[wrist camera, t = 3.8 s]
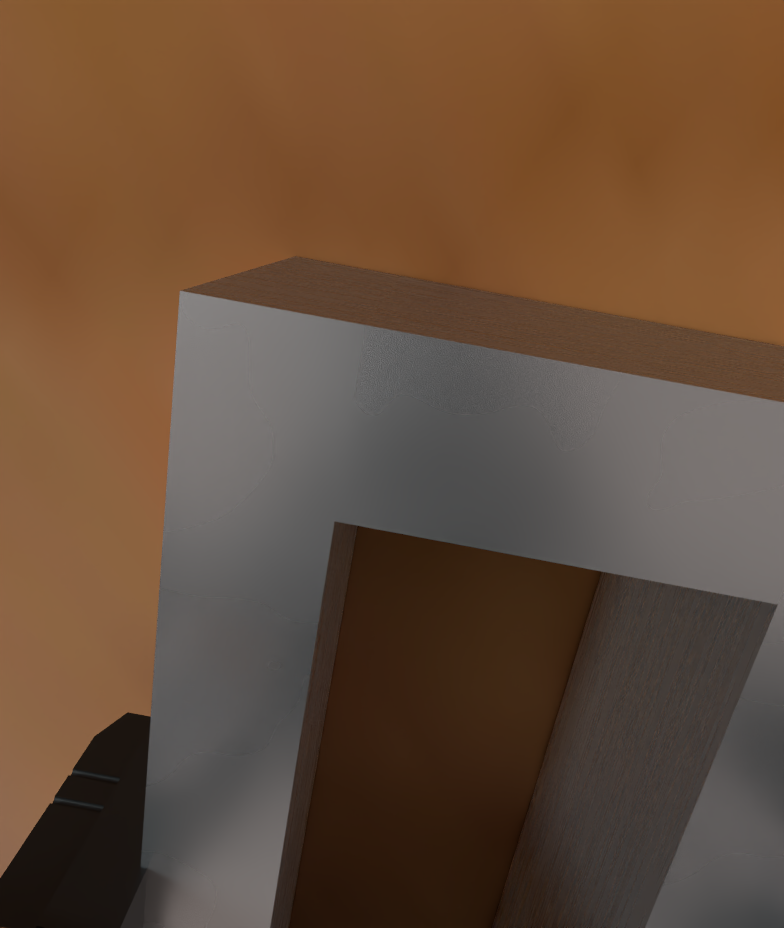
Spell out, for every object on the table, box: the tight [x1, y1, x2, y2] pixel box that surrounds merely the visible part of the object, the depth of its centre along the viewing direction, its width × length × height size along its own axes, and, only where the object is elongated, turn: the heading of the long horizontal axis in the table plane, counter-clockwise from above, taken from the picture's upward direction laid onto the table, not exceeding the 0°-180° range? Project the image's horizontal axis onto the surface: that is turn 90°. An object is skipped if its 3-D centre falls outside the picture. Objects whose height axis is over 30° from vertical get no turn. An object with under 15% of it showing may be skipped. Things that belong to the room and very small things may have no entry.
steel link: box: [141, 256, 784, 928], centre depth 9 cm, size 13×6×4 cm, turn 170°
